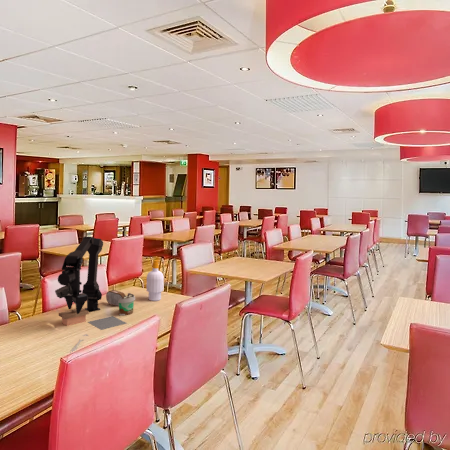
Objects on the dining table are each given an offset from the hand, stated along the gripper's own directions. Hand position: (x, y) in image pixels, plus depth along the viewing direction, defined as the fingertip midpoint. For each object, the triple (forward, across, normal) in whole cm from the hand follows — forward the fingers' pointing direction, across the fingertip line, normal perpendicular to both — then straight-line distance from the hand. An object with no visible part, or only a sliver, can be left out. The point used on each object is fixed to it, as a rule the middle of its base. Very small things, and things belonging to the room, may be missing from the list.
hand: (73, 311), depth 195 cm
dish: (+6, 0, 0) cm, 6 cm away
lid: (+2, 0, 0) cm, 2 cm away
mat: (+6, +11, +12) cm, 18 cm away
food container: (+7, +5, +28) cm, 29 cm away
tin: (+7, -13, +31) cm, 34 cm away
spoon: (+7, +26, -10) cm, 29 cm away
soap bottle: (+6, -9, +55) cm, 56 cm away
